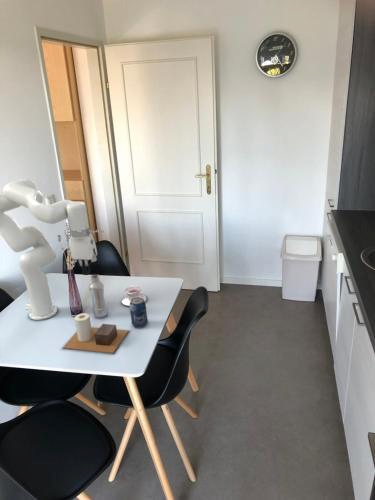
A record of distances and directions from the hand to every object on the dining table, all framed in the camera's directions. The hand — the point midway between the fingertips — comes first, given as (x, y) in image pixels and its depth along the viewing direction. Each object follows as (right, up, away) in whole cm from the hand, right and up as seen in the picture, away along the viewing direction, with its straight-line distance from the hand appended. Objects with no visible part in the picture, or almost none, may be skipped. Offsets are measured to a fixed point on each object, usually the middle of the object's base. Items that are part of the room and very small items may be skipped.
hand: (86, 273), depth 177 cm
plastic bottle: (+3, -20, +16) cm, 26 cm away
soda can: (+22, -23, +7) cm, 32 cm away
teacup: (+16, -15, +28) cm, 36 cm away
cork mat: (+5, -27, -2) cm, 28 cm away
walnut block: (+9, -28, -4) cm, 29 cm away
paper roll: (0, -22, -3) cm, 22 cm away
